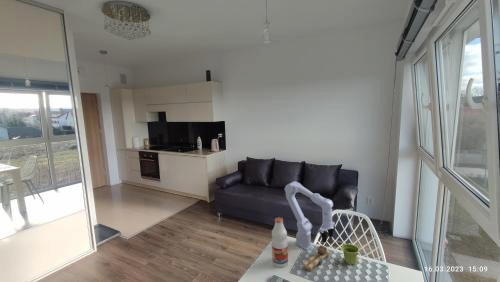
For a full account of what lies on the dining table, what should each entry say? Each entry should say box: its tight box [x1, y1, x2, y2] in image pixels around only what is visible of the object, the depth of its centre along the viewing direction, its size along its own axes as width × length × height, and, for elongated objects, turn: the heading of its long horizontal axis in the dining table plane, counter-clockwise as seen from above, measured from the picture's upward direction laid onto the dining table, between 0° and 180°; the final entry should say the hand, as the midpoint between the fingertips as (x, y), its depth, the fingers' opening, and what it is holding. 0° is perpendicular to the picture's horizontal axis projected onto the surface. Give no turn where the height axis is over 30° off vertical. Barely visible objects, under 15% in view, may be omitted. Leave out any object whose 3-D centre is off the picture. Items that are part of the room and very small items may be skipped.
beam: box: [302, 250, 330, 273], centre depth 139 cm, size 20×6×3 cm, turn 132°
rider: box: [316, 244, 328, 257], centre depth 143 cm, size 4×4×5 cm
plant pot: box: [341, 243, 360, 266], centre depth 138 cm, size 9×9×9 cm
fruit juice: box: [271, 217, 289, 269], centre depth 138 cm, size 9×9×28 cm
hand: (327, 239), depth 147 cm, fingers open, 7 cm apart
